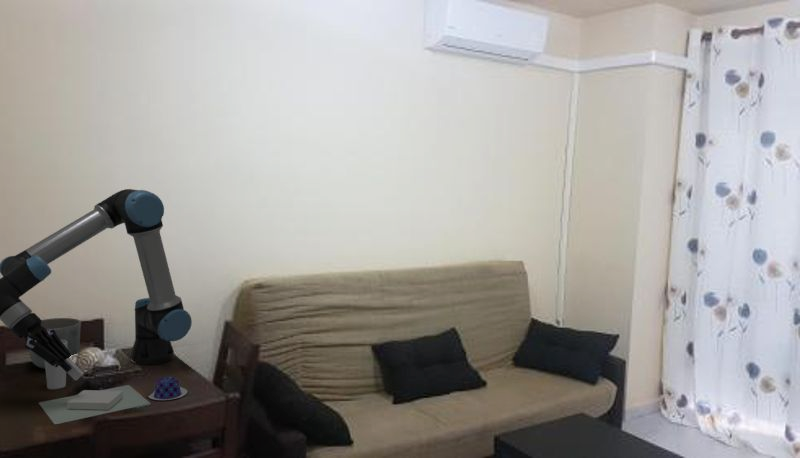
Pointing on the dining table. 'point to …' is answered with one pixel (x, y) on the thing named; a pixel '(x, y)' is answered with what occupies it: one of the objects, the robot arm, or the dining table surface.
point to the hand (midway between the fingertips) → (79, 376)
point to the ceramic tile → (95, 400)
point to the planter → (61, 335)
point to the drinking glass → (55, 374)
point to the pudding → (167, 389)
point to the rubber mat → (61, 414)
